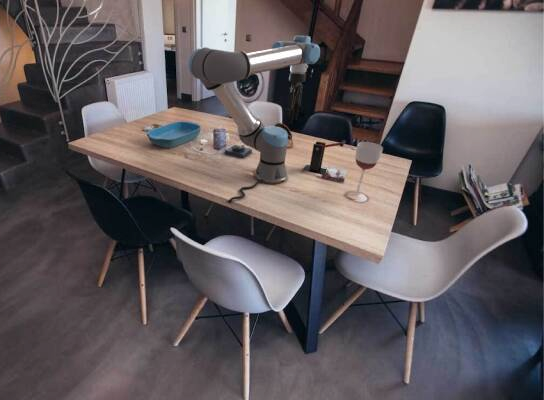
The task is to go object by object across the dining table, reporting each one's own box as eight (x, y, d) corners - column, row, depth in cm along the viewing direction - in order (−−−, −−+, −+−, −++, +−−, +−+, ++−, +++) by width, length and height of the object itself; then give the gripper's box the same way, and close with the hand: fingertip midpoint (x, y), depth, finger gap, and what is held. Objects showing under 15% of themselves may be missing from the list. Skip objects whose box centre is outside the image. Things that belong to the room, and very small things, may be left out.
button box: (243, 158, 167) (243, 151, 165) (224, 153, 173) (224, 147, 171) (251, 152, 175) (252, 146, 173) (233, 148, 180) (233, 142, 178)
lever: (346, 143, 143) (345, 138, 142) (343, 147, 139) (342, 142, 138) (318, 148, 151) (317, 143, 150) (315, 151, 147) (314, 147, 146)
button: (239, 149, 169) (239, 146, 169) (233, 147, 171) (233, 144, 170) (243, 146, 172) (243, 144, 172) (237, 145, 174) (237, 142, 173)
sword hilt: (296, 128, 194) (275, 119, 193) (300, 141, 173) (276, 130, 172) (288, 142, 199) (267, 133, 197) (291, 156, 178) (268, 146, 176)
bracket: (327, 171, 155) (333, 143, 147) (323, 177, 149) (329, 148, 141) (306, 166, 159) (311, 139, 152) (301, 172, 154) (305, 143, 146)
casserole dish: (168, 153, 172) (167, 140, 168) (140, 144, 183) (138, 133, 179) (207, 136, 198) (207, 125, 195) (181, 129, 209) (180, 119, 205)
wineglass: (361, 191, 137) (375, 141, 126) (371, 202, 129) (387, 150, 117) (341, 191, 137) (353, 141, 125) (350, 202, 128) (364, 150, 117)
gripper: (298, 75, 137) (291, 126, 149) (312, 71, 151) (305, 117, 163) (282, 74, 140) (277, 124, 152) (297, 69, 155) (291, 115, 166)
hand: (291, 120), depth 157 cm, fingers open, 6 cm apart
